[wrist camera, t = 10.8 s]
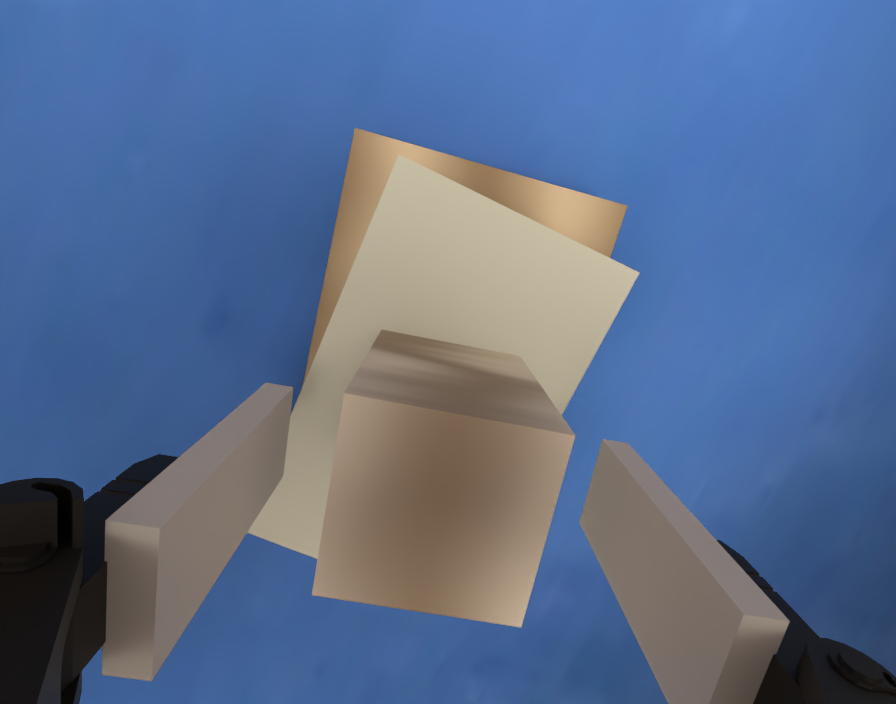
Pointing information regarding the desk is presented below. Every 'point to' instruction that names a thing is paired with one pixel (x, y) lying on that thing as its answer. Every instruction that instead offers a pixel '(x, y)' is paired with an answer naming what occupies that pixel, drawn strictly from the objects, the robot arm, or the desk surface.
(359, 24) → the desk surface
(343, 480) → the ash block
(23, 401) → the desk surface
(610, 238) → the bottom block
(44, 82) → the desk surface
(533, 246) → the middle block
